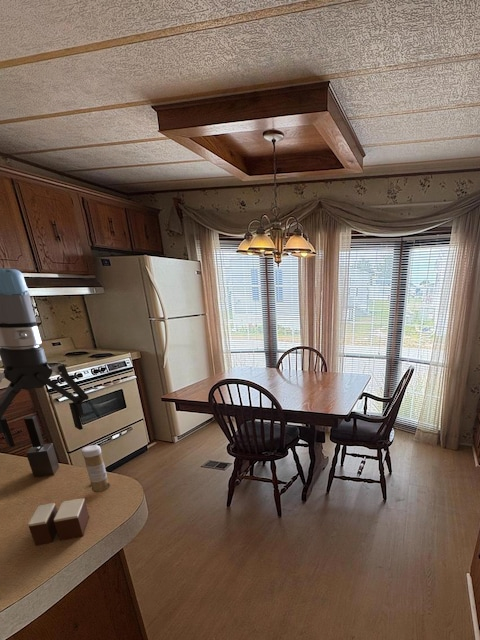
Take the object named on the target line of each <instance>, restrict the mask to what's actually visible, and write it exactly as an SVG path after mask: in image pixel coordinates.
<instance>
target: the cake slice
mask: <svg viewBox="0 0 480 640" xmlns="http://www.w3.org/2000/svg"><path fill="white" fill-rule="evenodd" d="M57 512H58V508H57V506H56V503H55V502H50V503H46V504H39V505H38V506H37V508H36V510H35V512H34V513H33V515H32V517H31V518H30V520H29V521H28V523H27V526H28V528H29V532H30V535H31V537H32V539H33V543H34V545H35V546H39V545H45V544H50V543H53V541H54V539H55V537H56V534H57V533H58V532H57V528H56V525H55V522H54V518H55V516H56V514H57Z"/></svg>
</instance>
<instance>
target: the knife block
mask: <svg viewBox="0 0 480 640" xmlns="http://www.w3.org/2000/svg"><path fill="white" fill-rule="evenodd" d="M25 454H26V455H25V456H26V457H27V460H28V463H29V467H30V470H31V473H32V475H33V478H34V479H36V478H43V477H44V478H45V477H51V476H55V475H56V473H57V471H58V469H59V468H60V464H59V461H58V457H57V455H56V450H55V447H54V443H52V442H51V443H43V445H42V448H41V449H40V451H37V448H36V447H33V446H32V445H31V447H30V448H29V449H28V450H27V451H26V453H25Z"/></svg>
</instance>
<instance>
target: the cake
mask: <svg viewBox="0 0 480 640" xmlns="http://www.w3.org/2000/svg"><path fill="white" fill-rule="evenodd" d="M89 520H90V514H89V510H88V507H87V503H86V499H85V497H82V498H77V499H70V500H64V501H61V504H60V506H59V508H58V509H57V514H56V516H55V518H54V522H55V525H56V528H57V532H56V533H57V535H58V537H59V540H60V541H65V540H70V539H76V538H81V537H84V535H85V532H86V529H87V526H88V523H89Z"/></svg>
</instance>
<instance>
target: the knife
mask: <svg viewBox="0 0 480 640" xmlns="http://www.w3.org/2000/svg"><path fill="white" fill-rule="evenodd" d="M23 421H24V424H25V427H26V430H27V433H28V436H29V440H30V442H31V447H32V446H33V447H36V448H37V451H40V449H41V448H42V445H43V444H45V442H44V439H43V436H42V432H41V429H40V426H39V422H38V418H37V416H36V415H34V414H33V415H27V416H26V417H25V418H23Z"/></svg>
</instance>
